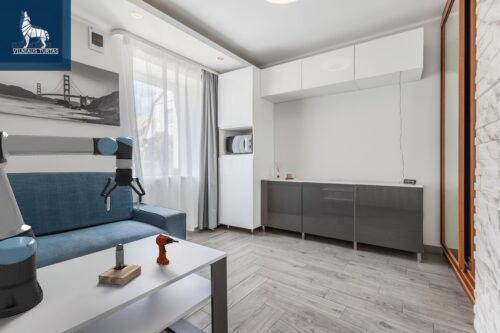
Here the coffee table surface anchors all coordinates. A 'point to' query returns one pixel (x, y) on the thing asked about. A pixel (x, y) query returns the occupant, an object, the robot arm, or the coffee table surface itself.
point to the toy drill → (163, 248)
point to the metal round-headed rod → (119, 257)
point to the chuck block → (120, 274)
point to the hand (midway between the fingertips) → (123, 209)
